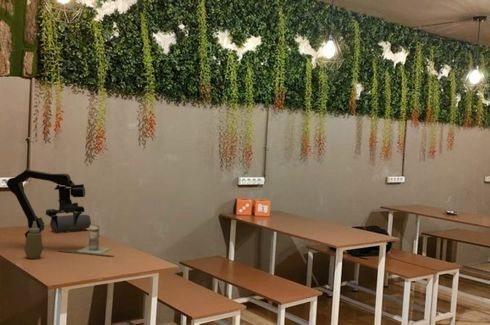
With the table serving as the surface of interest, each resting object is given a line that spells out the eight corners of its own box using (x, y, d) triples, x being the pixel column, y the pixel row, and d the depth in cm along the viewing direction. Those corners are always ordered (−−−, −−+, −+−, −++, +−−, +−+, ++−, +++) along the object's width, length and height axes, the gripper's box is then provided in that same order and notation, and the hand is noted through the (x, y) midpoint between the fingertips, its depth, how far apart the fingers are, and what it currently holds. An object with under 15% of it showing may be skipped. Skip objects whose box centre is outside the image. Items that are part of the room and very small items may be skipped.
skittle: (94, 251, 273) (95, 226, 273) (86, 249, 275) (87, 225, 275) (100, 249, 278) (101, 225, 277) (93, 248, 280) (94, 224, 279)
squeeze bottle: (25, 260, 250) (26, 222, 249) (23, 256, 257) (25, 220, 256) (43, 259, 253) (44, 222, 252) (41, 255, 260) (42, 219, 260)
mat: (99, 254, 269) (99, 253, 269) (76, 251, 271) (76, 251, 271) (110, 249, 282) (110, 248, 282) (88, 247, 284) (88, 246, 284)
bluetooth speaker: (84, 228, 336) (84, 213, 336) (90, 230, 329) (91, 215, 329) (49, 231, 321) (49, 215, 320) (55, 234, 314) (56, 217, 314)
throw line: (58, 251, 270) (58, 251, 270) (60, 250, 272) (60, 250, 272) (112, 257, 265) (112, 256, 265) (114, 256, 267) (114, 255, 267)
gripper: (51, 200, 263) (53, 231, 264) (87, 197, 275) (89, 226, 276) (44, 199, 272) (46, 228, 273) (79, 195, 283) (81, 224, 284)
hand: (66, 227), depth 276 cm, fingers open, 9 cm apart
